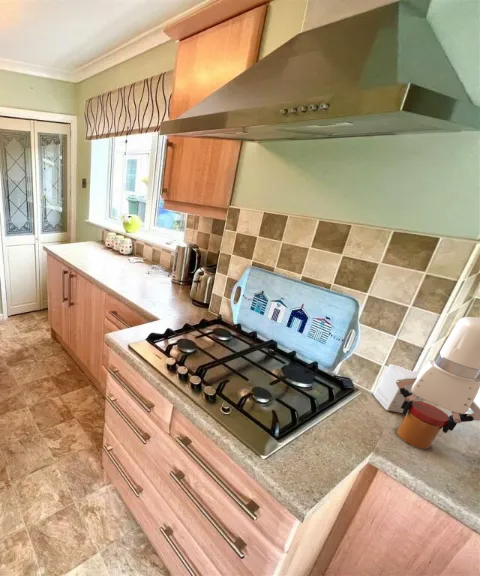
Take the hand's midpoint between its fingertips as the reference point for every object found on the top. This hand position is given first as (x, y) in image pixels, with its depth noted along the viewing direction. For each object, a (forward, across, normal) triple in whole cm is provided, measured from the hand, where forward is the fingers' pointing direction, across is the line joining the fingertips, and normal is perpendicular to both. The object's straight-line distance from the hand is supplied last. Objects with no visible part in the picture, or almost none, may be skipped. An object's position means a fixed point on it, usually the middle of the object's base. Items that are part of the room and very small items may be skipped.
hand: (423, 420), depth 82 cm
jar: (+7, 0, 0) cm, 7 cm away
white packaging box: (+7, +6, -13) cm, 16 cm away
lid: (-3, 0, 0) cm, 3 cm away
